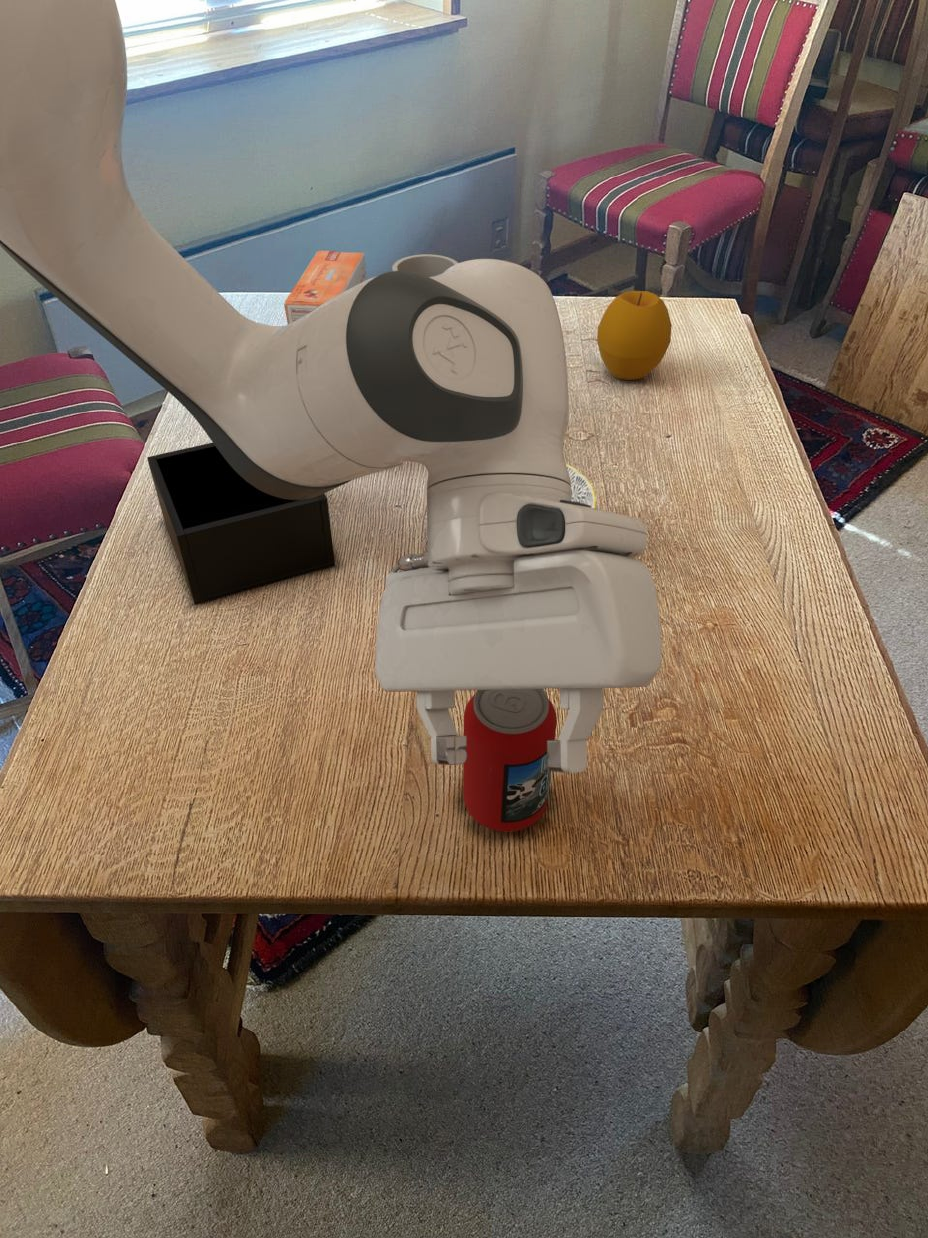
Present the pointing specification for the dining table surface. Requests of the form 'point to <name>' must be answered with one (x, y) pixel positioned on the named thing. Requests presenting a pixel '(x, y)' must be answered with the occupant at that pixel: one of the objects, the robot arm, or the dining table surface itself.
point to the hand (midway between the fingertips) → (504, 768)
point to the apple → (634, 334)
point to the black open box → (235, 526)
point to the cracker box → (324, 281)
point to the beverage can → (507, 757)
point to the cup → (424, 264)
